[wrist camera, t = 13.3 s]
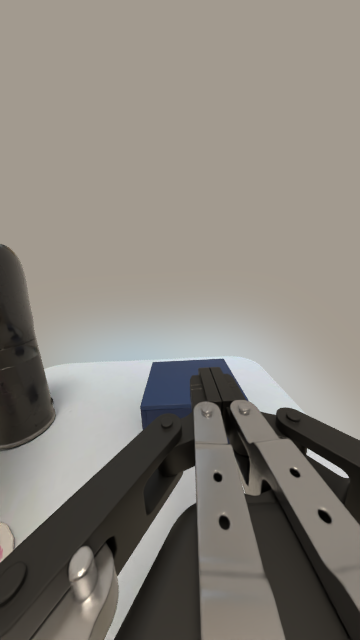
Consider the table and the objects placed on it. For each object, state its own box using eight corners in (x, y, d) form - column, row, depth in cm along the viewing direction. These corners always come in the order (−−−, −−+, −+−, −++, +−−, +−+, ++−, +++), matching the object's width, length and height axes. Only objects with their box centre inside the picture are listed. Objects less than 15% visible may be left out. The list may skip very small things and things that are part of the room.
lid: (153, 365, 40) (152, 362, 40) (223, 361, 40) (223, 358, 40) (140, 410, 26) (140, 406, 26) (248, 405, 26) (248, 400, 26)
